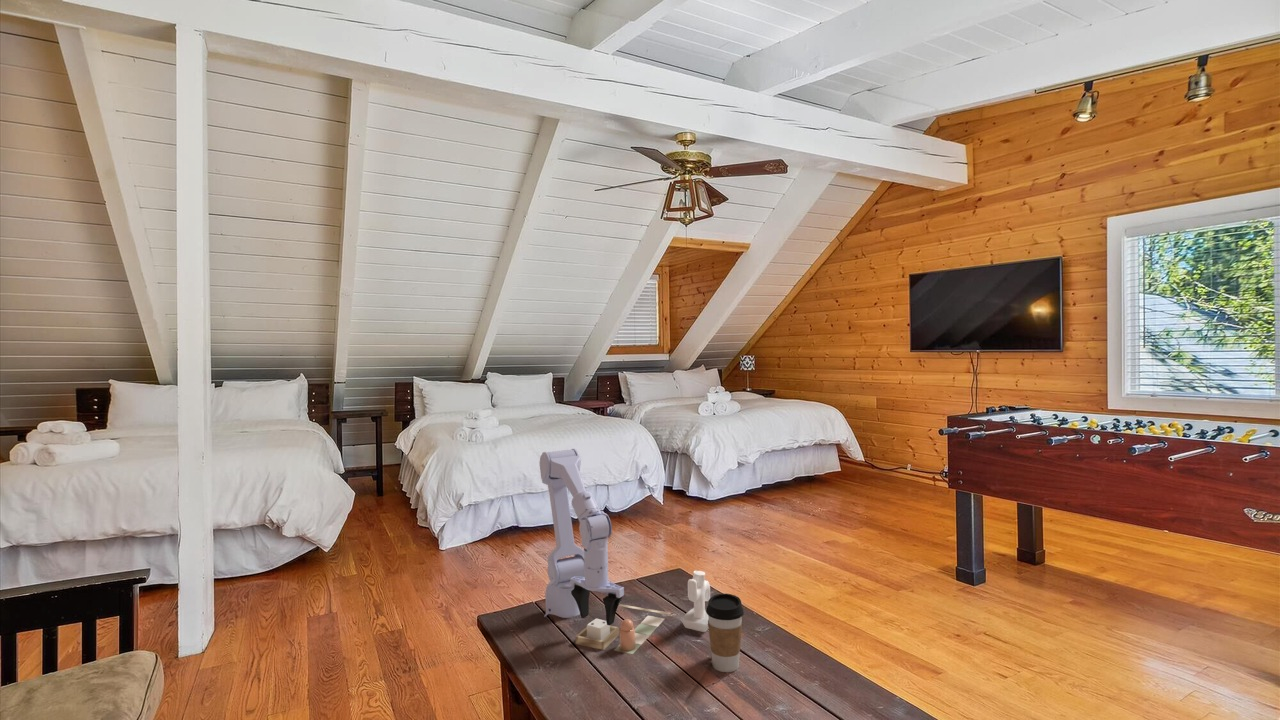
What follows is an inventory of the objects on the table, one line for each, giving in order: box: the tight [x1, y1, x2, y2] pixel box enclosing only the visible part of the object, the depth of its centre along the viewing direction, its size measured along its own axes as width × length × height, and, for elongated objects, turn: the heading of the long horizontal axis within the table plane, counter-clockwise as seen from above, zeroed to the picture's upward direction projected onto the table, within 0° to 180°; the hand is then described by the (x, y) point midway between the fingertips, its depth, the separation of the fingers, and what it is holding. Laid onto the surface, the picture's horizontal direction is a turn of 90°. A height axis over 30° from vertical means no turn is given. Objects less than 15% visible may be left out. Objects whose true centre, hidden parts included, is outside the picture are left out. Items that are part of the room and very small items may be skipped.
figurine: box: [680, 570, 711, 633], centre depth 165 cm, size 7×9×15 cm
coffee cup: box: [705, 593, 745, 673], centre depth 148 cm, size 8×8×15 cm
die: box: [586, 617, 611, 641], centre depth 159 cm, size 4×4×4 cm
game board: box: [575, 603, 672, 655], centre depth 164 cm, size 15×26×3 cm, turn 156°
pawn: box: [619, 618, 636, 651], centre depth 154 cm, size 4×4×7 cm
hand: (597, 620), depth 159 cm, fingers open, 7 cm apart
